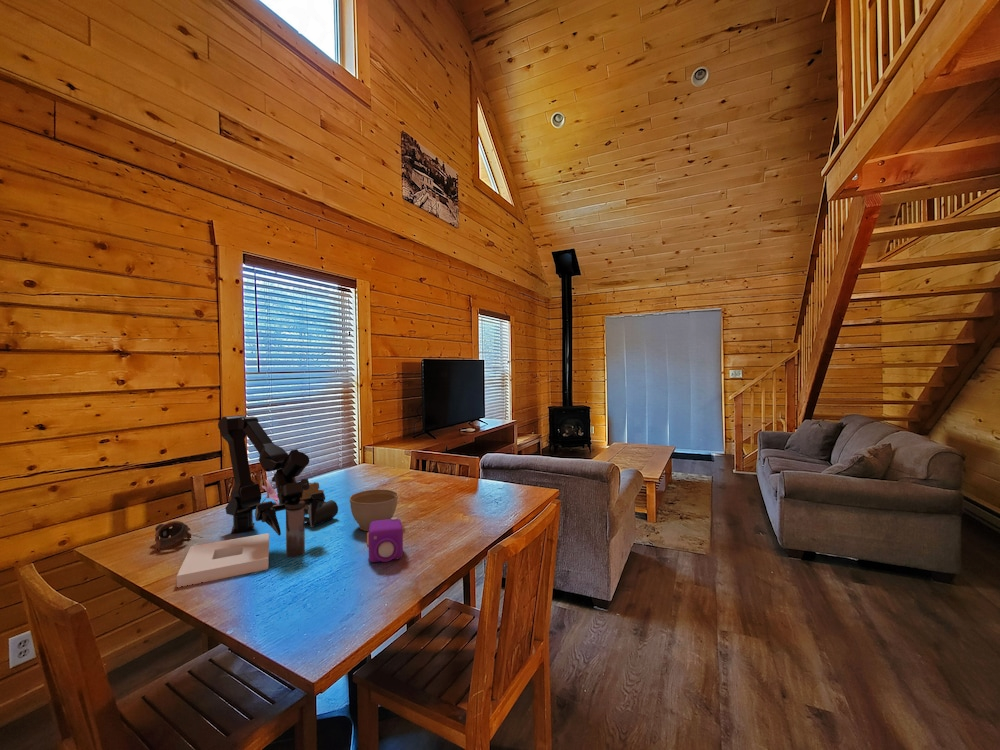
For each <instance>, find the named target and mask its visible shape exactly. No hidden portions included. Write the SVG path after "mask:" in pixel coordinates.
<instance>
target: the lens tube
mask: <svg viewBox="0 0 1000 750" xmlns="http://www.w3.org/2000/svg"><path fill="white" fill-rule="evenodd" d="M285 509H286V510H285V554H286V555H285V556H286V557H287V558H297V557H300V556H302V555H304V554H305V553H306V540H305V539H306V537H305V536H306V533H305V531H306V530H305V527H306V526H305V523H306V522H305V517H306V516H305V515H306V514H305V501H292V502H288V503H286V504H285Z"/></svg>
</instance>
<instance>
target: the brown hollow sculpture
mask: <svg viewBox="0 0 1000 750" xmlns="http://www.w3.org/2000/svg"><path fill="white" fill-rule="evenodd" d="M189 531H191V528H190V527H189V526H188V525H187V524H186V523H184V522H182V521H178V520H173V521H169V522H167V523H160V524H158V525H157V526H155V535H154V537H155V538H154V542H155V547H154V548H155V550H157V549H158V550H160V549H161V550H162V549H164V548H168V547H171V546H173V545H176V543H179V542H181V541H182V540H183V539H189V538H191V539H192V534H191V532H189ZM158 550H157V551H158ZM161 550H160V551H161Z"/></svg>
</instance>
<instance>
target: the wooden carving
mask: <svg viewBox="0 0 1000 750" xmlns="http://www.w3.org/2000/svg"><path fill="white" fill-rule="evenodd" d="M309 486H310V487H309V489H308V490H304V492H302V497H301V498H300V499H301V500H303V499H308V498H309V496H310V494H312V493H317V492H323V493H324V492H325V491H324V490H323V489H319V488H320V484H319V482H315V481H314V482H309ZM324 494H325V493H324ZM307 506H308V505H306V506H305V507H307Z"/></svg>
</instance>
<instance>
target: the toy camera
mask: <svg viewBox="0 0 1000 750" xmlns="http://www.w3.org/2000/svg"><path fill="white" fill-rule="evenodd" d="M403 531H404V529H403V524H402V521H401V519H399V518H397V517H395V516H393V517H392V518H391V519H387V520H377V521H373V522H371V523H370V525H369V531H368V532H366V548H368V559H369V561H370V562H371V563H380V561H381V562H383V563H384V562H385V563H386V562H390V561H393V560H392V559H396V560H398V559H397V558H399V559H401V558H402V557H403V553H404V552H403V551H404V538H403V537H404V532H403ZM400 557H401V558H400Z"/></svg>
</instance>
